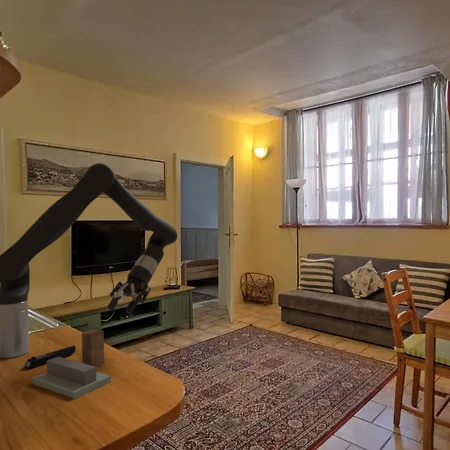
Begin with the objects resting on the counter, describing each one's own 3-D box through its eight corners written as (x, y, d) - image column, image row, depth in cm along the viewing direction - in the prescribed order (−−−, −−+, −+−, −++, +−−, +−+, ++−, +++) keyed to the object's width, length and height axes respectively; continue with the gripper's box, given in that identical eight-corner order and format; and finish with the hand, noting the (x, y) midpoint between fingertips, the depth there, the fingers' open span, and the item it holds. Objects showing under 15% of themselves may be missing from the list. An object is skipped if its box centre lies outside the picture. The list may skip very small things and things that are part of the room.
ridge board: (31, 383, 97) (31, 364, 97) (68, 369, 106) (68, 351, 106) (74, 398, 87) (73, 378, 87) (110, 381, 96) (110, 362, 96)
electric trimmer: (78, 355, 119) (78, 345, 119) (29, 370, 106) (29, 360, 106) (72, 353, 121) (72, 343, 121) (23, 368, 108) (23, 357, 108)
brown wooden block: (82, 366, 108) (81, 332, 108) (94, 361, 112) (93, 329, 112) (92, 369, 105) (91, 334, 105) (104, 364, 109) (103, 330, 109)
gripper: (122, 263, 129) (96, 302, 119) (152, 265, 121) (127, 306, 111) (134, 276, 133) (110, 315, 123) (163, 278, 125) (140, 319, 116)
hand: (118, 310), depth 117 cm, fingers open, 8 cm apart
